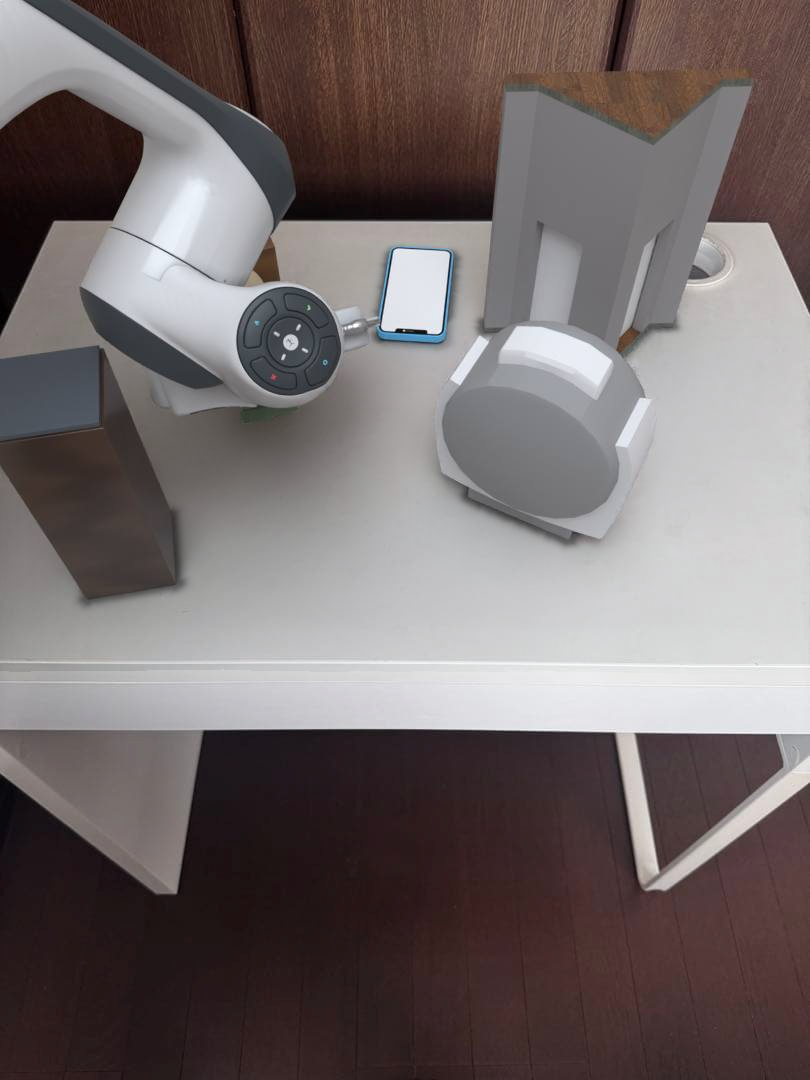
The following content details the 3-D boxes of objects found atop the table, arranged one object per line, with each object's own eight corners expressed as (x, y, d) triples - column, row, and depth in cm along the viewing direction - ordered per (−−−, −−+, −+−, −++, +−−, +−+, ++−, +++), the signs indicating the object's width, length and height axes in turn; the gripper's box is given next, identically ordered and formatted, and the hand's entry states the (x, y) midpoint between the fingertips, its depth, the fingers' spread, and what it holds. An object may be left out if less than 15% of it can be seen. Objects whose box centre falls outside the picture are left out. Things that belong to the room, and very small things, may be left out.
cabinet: (669, 317, 98) (750, 68, 74) (686, 381, 92) (780, 134, 69) (483, 322, 97) (505, 73, 74) (490, 386, 92) (516, 141, 69)
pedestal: (86, 599, 79) (-14, 445, 60) (87, 527, 83) (-7, 362, 64) (176, 584, 79) (104, 428, 61) (171, 513, 84) (103, 347, 65)
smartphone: (454, 249, 103) (444, 337, 94) (453, 257, 104) (444, 345, 95) (390, 245, 103) (376, 333, 95) (390, 253, 104) (376, 341, 96)
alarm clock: (631, 502, 84) (687, 351, 67) (599, 569, 80) (650, 426, 63) (464, 435, 89) (476, 277, 72) (425, 495, 85) (428, 343, 68)
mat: (-11, 443, 60) (-14, 438, 60) (-4, 364, 64) (-7, 359, 64) (101, 426, 61) (99, 421, 61) (100, 349, 65) (98, 344, 65)
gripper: (375, 281, 72) (344, 296, 86) (131, 344, 69) (138, 350, 82) (395, 356, 74) (361, 360, 87) (156, 422, 70) (159, 416, 83)
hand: (251, 356), depth 84 cm, fingers closed on toy, 5 cm apart
